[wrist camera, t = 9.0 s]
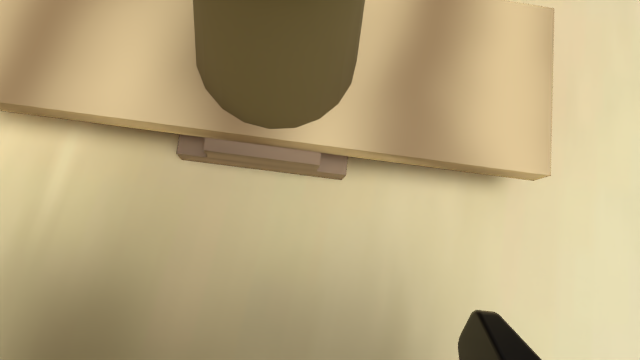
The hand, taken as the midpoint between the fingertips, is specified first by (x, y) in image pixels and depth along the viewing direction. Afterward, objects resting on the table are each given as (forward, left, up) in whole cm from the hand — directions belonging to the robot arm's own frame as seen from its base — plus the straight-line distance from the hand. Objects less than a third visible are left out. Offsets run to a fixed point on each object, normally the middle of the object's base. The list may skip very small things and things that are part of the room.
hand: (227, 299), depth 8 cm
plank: (+3, +8, -9) cm, 12 cm away
